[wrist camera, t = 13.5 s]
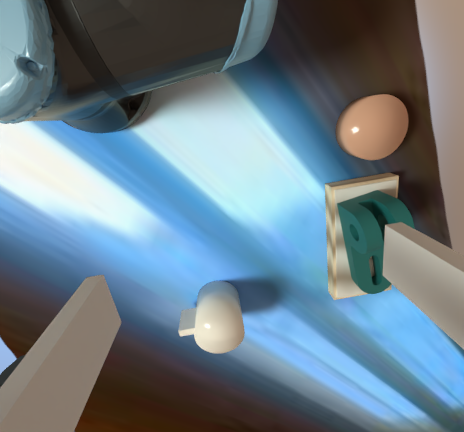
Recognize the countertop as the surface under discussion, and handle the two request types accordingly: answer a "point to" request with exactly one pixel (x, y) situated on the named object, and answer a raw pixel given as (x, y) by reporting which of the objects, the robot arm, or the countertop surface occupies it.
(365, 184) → the tray
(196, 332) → the mug
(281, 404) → the countertop surface
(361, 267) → the bracket
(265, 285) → the countertop surface
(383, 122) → the peach flattened dome
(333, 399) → the countertop surface
